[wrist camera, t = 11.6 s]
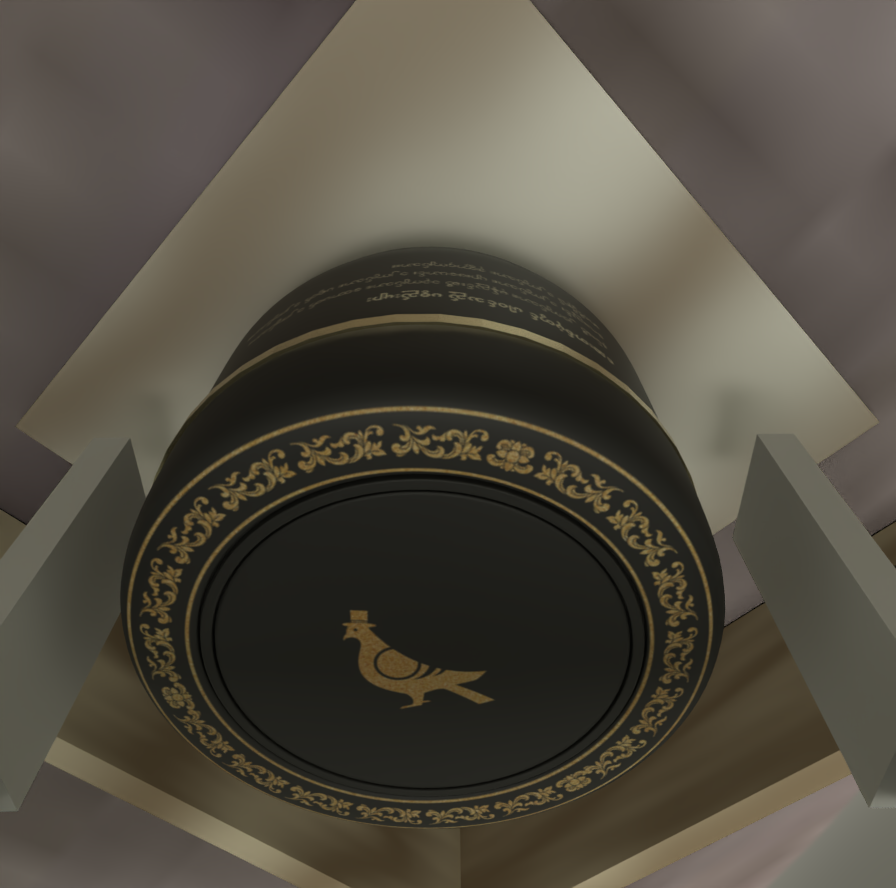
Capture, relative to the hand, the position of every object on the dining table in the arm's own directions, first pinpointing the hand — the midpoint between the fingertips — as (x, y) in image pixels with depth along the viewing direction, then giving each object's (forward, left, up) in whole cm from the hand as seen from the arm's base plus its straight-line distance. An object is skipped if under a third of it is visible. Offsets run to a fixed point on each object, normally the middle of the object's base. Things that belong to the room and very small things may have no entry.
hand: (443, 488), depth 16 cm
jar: (0, 0, -3) cm, 3 cm away
